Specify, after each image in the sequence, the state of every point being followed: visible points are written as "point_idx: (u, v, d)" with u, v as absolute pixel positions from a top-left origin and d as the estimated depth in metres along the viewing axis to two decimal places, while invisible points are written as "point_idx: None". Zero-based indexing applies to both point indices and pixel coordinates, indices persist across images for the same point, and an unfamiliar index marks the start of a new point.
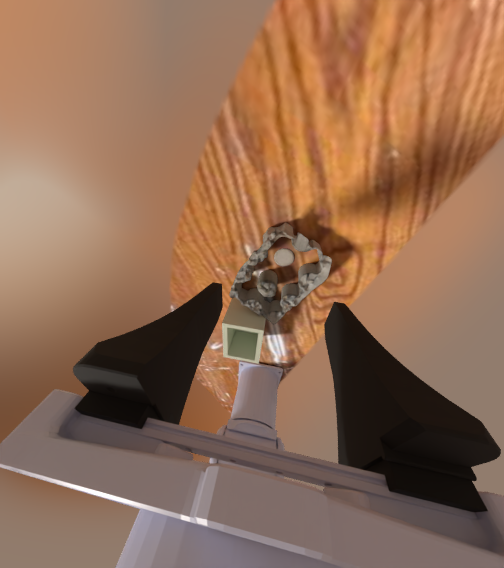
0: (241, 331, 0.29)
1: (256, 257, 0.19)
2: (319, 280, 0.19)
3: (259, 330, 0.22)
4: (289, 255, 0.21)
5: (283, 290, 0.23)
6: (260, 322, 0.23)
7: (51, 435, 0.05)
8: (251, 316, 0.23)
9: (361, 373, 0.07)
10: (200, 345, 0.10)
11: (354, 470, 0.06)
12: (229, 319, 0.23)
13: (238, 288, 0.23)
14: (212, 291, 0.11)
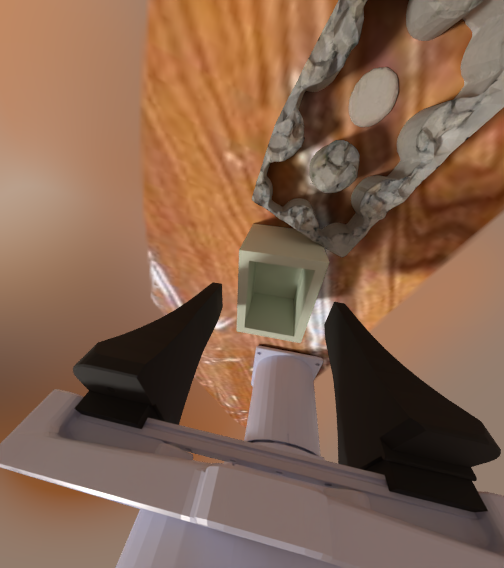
0: (264, 293, 0.18)
1: (328, 52, 0.07)
2: (495, 102, 0.07)
3: (319, 263, 0.10)
4: (388, 85, 0.09)
5: (360, 187, 0.11)
6: (316, 252, 0.11)
7: (51, 435, 0.05)
8: (295, 244, 0.12)
9: (361, 373, 0.07)
10: (200, 345, 0.10)
11: (354, 470, 0.06)
12: (253, 246, 0.11)
13: (269, 187, 0.11)
14: (212, 291, 0.11)
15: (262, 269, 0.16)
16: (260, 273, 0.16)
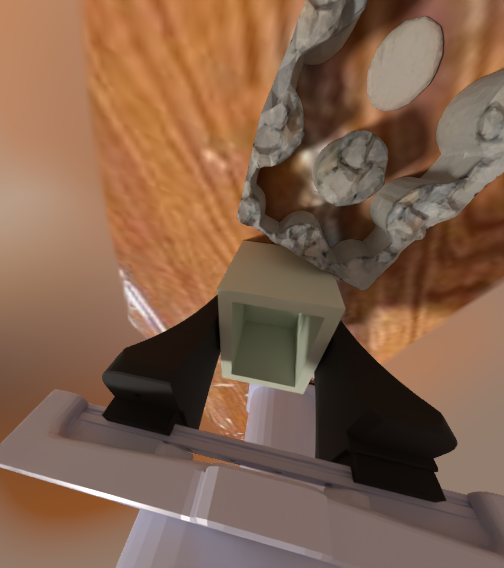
0: (258, 322, 0.15)
1: None
2: None
3: (330, 309, 0.07)
4: (427, 45, 0.06)
5: (385, 195, 0.08)
6: (326, 288, 0.08)
7: (51, 435, 0.05)
8: (296, 275, 0.09)
9: (335, 368, 0.08)
10: (217, 348, 0.10)
11: (354, 470, 0.06)
12: (238, 280, 0.08)
13: (260, 200, 0.09)
14: None
15: None
16: None
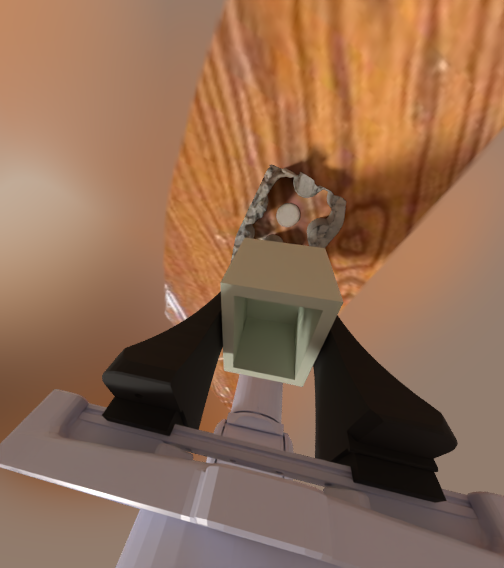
0: (258, 318, 0.15)
1: (254, 212, 0.16)
2: (333, 230, 0.15)
3: (328, 302, 0.07)
4: (293, 210, 0.18)
5: None
6: (324, 283, 0.08)
7: (51, 435, 0.05)
8: (296, 270, 0.09)
9: (335, 368, 0.08)
10: (217, 348, 0.10)
11: (354, 470, 0.06)
12: (240, 275, 0.08)
13: None
14: None
15: None
16: None
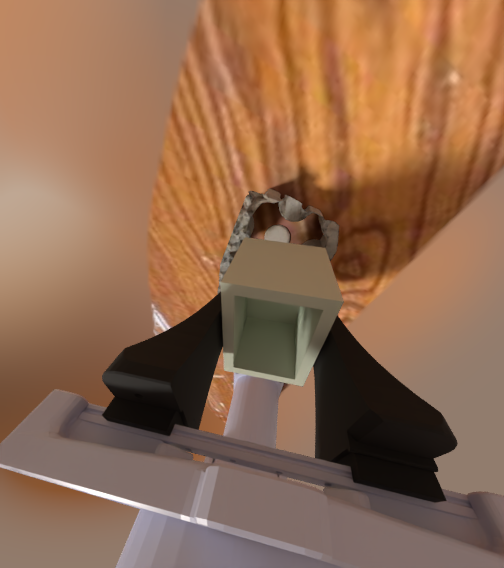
0: (259, 318, 0.15)
1: (237, 239, 0.14)
2: None
3: (329, 301, 0.07)
4: (283, 232, 0.16)
5: None
6: (325, 282, 0.08)
7: (51, 435, 0.05)
8: (296, 270, 0.09)
9: (335, 368, 0.08)
10: (217, 348, 0.10)
11: (354, 470, 0.06)
12: (240, 275, 0.08)
13: None
14: None
15: None
16: None
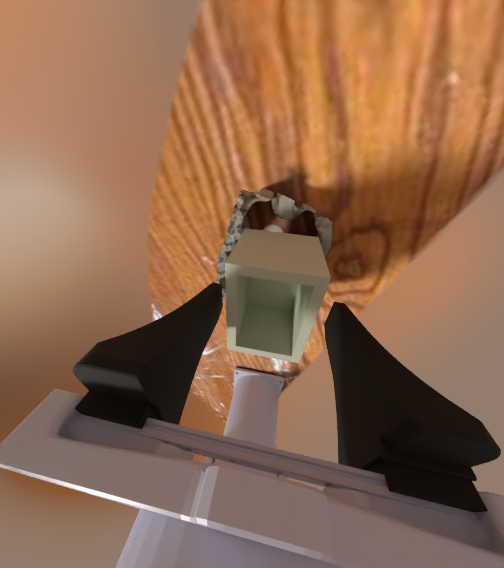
0: (259, 304, 0.16)
1: (232, 239, 0.15)
2: None
3: (318, 278, 0.09)
4: (278, 231, 0.16)
5: None
6: (316, 264, 0.09)
7: (51, 435, 0.05)
8: (291, 254, 0.10)
9: (361, 373, 0.07)
10: (200, 345, 0.10)
11: (354, 470, 0.06)
12: (242, 257, 0.10)
13: (225, 285, 0.19)
14: (212, 290, 0.11)
15: (256, 279, 0.15)
16: (254, 283, 0.15)
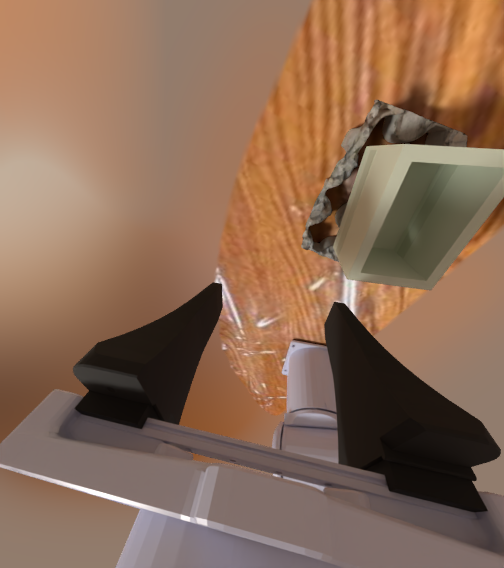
0: None
1: (340, 171, 0.14)
2: None
3: None
4: None
5: None
6: None
7: (51, 435, 0.05)
8: None
9: (361, 373, 0.07)
10: (200, 345, 0.10)
11: (354, 470, 0.06)
12: None
13: (311, 236, 0.18)
14: (212, 290, 0.11)
15: None
16: None
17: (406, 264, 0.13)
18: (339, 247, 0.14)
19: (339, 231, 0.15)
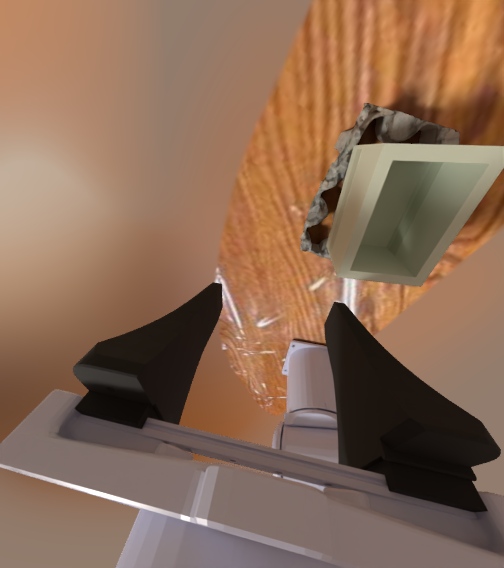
0: None
1: (334, 173, 0.14)
2: None
3: (500, 150, 0.08)
4: None
5: None
6: None
7: (51, 435, 0.05)
8: None
9: (361, 373, 0.07)
10: (200, 345, 0.10)
11: (354, 470, 0.06)
12: None
13: (309, 238, 0.18)
14: (212, 290, 0.11)
15: None
16: None
17: (397, 261, 0.13)
18: (331, 245, 0.15)
19: (331, 230, 0.15)
